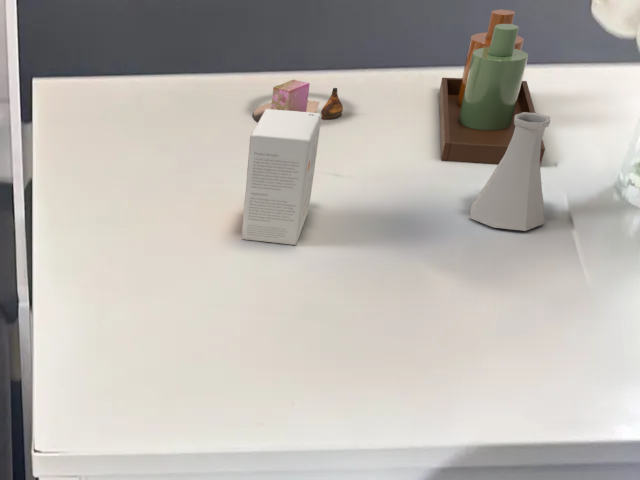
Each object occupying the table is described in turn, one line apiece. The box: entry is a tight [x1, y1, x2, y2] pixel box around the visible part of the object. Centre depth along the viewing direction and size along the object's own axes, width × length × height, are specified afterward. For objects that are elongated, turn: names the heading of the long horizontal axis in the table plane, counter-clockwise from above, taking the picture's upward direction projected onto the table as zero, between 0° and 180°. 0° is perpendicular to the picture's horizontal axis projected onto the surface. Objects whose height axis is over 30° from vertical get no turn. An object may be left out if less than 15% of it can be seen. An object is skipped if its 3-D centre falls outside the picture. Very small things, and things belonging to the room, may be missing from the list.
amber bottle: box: [457, 9, 525, 107], centre depth 118 cm, size 6×6×11 cm
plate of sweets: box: [251, 79, 344, 123], centre depth 121 cm, size 12×12×4 cm
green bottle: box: [458, 23, 529, 130], centre depth 113 cm, size 6×6×11 cm
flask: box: [468, 112, 551, 232], centre depth 92 cm, size 7×7×10 cm
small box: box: [241, 109, 322, 246], centre depth 93 cm, size 8×6×10 cm
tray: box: [438, 77, 546, 167], centre depth 114 cm, size 10×25×3 cm, turn 162°
